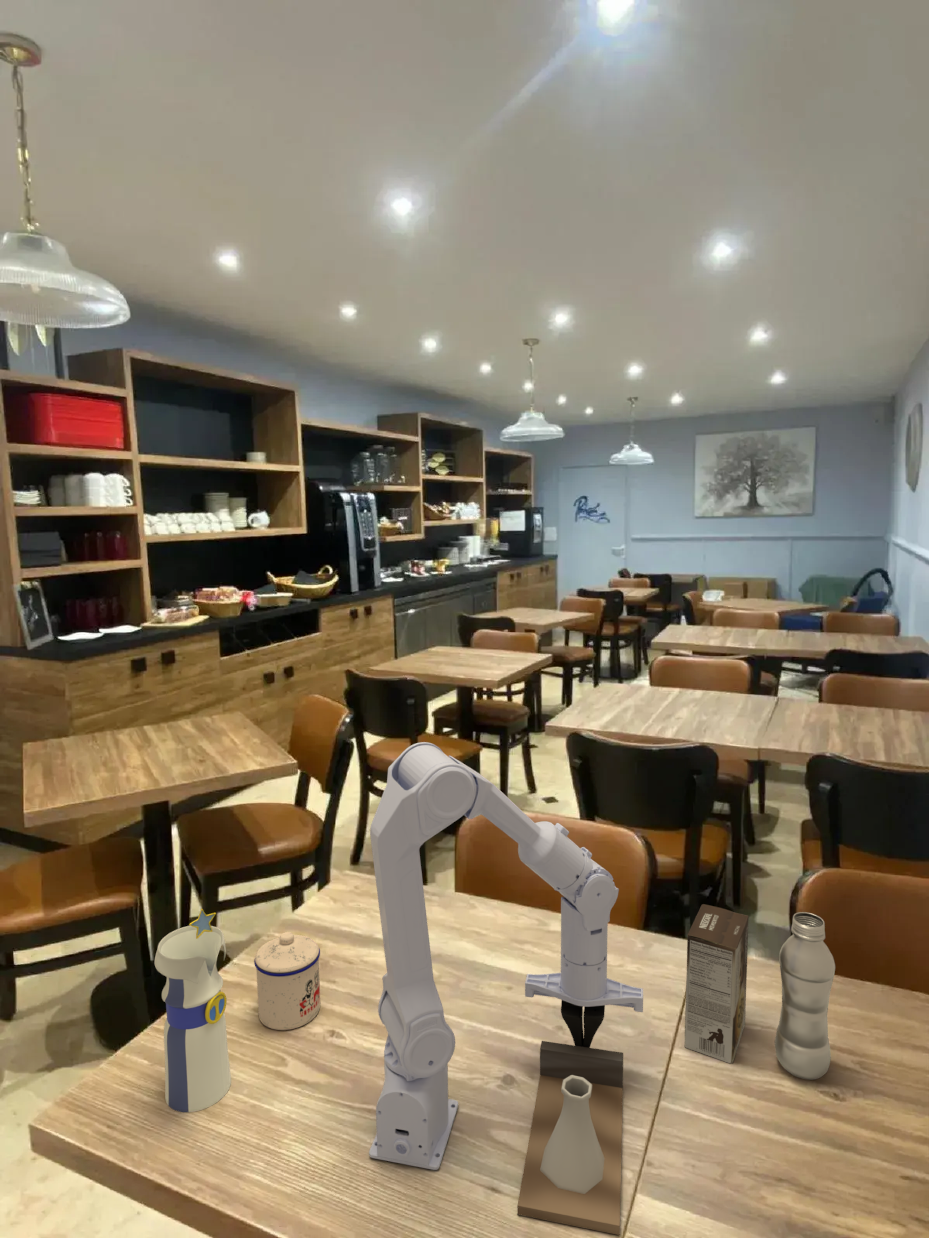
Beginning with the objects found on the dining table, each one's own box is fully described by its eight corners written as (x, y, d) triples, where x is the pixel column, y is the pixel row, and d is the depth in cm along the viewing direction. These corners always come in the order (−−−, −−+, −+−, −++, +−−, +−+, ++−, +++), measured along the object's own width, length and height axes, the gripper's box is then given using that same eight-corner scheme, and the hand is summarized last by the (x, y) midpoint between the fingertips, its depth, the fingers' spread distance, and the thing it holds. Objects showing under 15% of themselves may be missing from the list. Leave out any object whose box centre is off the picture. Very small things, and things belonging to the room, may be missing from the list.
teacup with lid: (313, 1033, 100) (309, 953, 99) (247, 1031, 100) (243, 952, 99) (333, 979, 112) (330, 908, 110) (274, 978, 112) (271, 907, 111)
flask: (557, 1133, 83) (561, 1052, 82) (617, 1166, 79) (622, 1080, 78) (526, 1179, 77) (529, 1091, 76) (589, 1216, 73) (594, 1124, 72)
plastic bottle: (823, 1054, 95) (831, 909, 92) (835, 1092, 88) (843, 937, 86) (770, 1045, 97) (776, 902, 94) (777, 1082, 90) (784, 930, 88)
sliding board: (619, 1234, 71) (620, 1193, 70) (517, 1214, 73) (517, 1173, 73) (622, 1086, 90) (623, 1052, 89) (541, 1073, 92) (541, 1040, 91)
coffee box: (698, 1008, 104) (701, 901, 102) (746, 1024, 101) (750, 913, 99) (682, 1047, 96) (685, 932, 94) (733, 1065, 93) (737, 947, 91)
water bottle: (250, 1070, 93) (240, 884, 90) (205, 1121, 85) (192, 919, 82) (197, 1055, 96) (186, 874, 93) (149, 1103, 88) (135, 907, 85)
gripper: (643, 941, 93) (641, 1039, 95) (530, 928, 96) (530, 1023, 98) (644, 974, 86) (642, 1079, 88) (522, 959, 90) (522, 1061, 91)
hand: (582, 1052), depth 93 cm, fingers closed
